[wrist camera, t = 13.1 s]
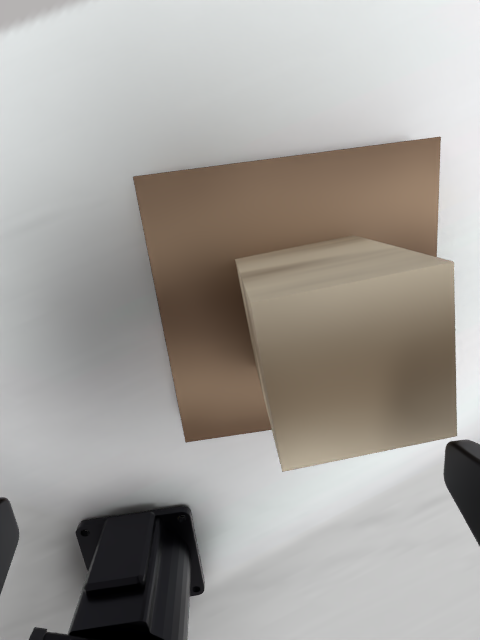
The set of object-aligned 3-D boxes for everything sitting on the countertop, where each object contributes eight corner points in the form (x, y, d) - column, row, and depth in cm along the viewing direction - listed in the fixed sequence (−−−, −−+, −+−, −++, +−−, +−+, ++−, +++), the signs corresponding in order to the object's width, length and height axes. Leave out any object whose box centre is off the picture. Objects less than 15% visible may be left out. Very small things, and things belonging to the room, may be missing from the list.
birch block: (364, 345, 18) (457, 436, 11) (256, 367, 18) (282, 471, 11) (353, 235, 16) (453, 261, 9) (234, 259, 16) (250, 302, 9)
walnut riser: (402, 378, 22) (431, 406, 19) (189, 409, 21) (185, 442, 18) (404, 146, 18) (440, 136, 15) (145, 179, 18) (132, 176, 15)
